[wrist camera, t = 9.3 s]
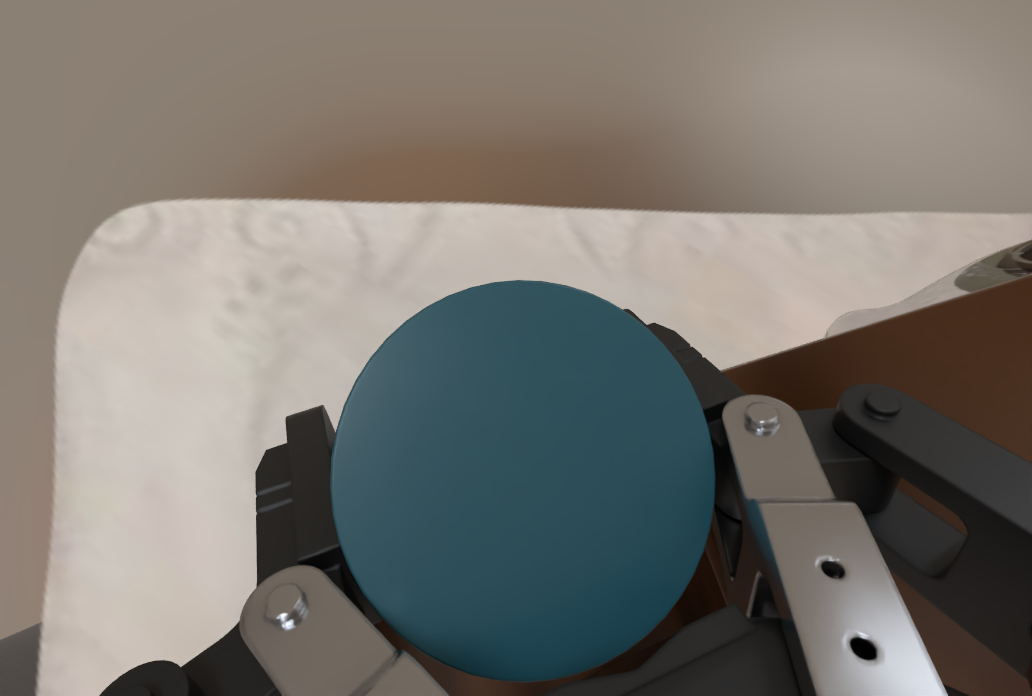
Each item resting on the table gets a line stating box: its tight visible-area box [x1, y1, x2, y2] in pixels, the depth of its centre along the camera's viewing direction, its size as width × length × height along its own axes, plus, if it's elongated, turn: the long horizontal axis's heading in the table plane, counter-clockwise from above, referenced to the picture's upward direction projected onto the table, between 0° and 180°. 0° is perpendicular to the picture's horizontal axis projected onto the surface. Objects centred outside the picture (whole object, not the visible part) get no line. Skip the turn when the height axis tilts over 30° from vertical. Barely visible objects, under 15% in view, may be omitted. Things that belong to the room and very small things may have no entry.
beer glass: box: [826, 240, 1032, 337], centre depth 30 cm, size 7×7×15 cm
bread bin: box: [374, 527, 728, 696], centre depth 28 cm, size 17×14×7 cm
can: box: [330, 280, 716, 682], centre depth 15 cm, size 6×6×12 cm
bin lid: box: [711, 273, 1032, 696], centre depth 18 cm, size 18×14×1 cm
